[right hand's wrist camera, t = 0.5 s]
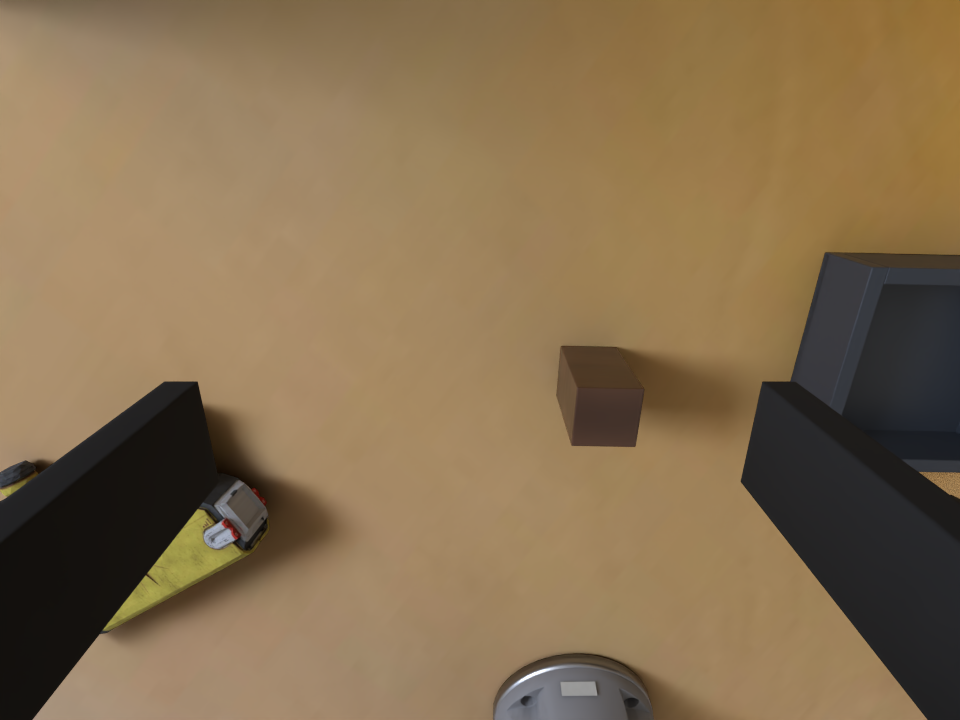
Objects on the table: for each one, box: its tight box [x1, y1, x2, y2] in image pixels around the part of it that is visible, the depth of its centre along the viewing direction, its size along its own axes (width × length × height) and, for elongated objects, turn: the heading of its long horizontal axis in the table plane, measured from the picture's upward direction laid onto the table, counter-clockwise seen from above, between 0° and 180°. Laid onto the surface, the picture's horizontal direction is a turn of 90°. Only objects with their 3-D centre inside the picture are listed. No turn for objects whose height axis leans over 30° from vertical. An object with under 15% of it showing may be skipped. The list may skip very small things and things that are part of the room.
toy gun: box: [0, 461, 270, 634], centre depth 41 cm, size 5×24×15 cm
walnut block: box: [557, 346, 644, 447], centre depth 35 cm, size 4×4×7 cm
